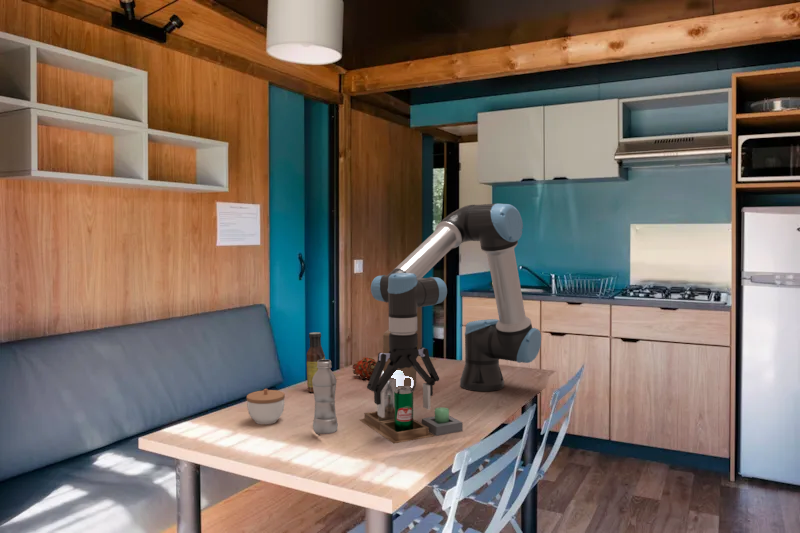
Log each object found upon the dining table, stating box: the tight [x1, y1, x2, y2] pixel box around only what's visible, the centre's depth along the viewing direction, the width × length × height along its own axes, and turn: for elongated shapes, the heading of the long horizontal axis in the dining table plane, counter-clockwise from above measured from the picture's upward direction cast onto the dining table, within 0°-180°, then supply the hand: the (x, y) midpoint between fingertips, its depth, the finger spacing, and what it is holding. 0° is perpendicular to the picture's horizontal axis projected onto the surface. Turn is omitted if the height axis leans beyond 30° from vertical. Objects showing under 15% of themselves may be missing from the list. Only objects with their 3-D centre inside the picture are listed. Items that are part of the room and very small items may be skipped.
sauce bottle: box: [306, 331, 326, 393], centre depth 209 cm, size 7×6×20 cm
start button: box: [434, 406, 450, 424], centre depth 165 cm, size 4×4×3 cm
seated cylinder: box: [378, 378, 396, 421], centre depth 171 cm, size 5×5×12 cm
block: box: [382, 328, 417, 387], centre depth 213 cm, size 10×10×20 cm
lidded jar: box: [246, 388, 286, 425], centre depth 176 cm, size 11×11×9 cm
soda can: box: [394, 386, 414, 432], centre depth 162 cm, size 5×5×12 cm
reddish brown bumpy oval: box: [352, 356, 377, 380], centre depth 227 cm, size 8×8×12 cm
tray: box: [359, 411, 435, 444], centre depth 167 cm, size 12×22×3 cm, turn 27°
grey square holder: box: [421, 415, 464, 437], centre depth 165 cm, size 8×8×4 cm
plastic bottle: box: [312, 358, 339, 436], centre depth 164 cm, size 6×7×20 cm
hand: (404, 412), depth 162 cm, fingers open, 13 cm apart
